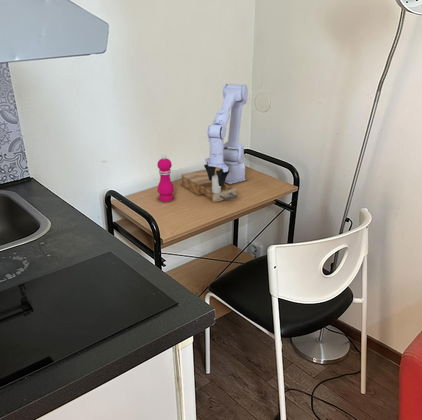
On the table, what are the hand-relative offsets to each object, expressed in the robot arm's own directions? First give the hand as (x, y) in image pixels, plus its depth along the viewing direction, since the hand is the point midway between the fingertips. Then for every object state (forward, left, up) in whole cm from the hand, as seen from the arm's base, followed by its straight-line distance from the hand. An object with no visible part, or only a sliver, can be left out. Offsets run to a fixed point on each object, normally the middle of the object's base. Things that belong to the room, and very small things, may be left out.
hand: (216, 182), depth 192 cm
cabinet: (0, -12, -6) cm, 14 cm away
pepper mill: (+20, -9, -6) cm, 23 cm away
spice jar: (0, 0, -4) cm, 4 cm away
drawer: (0, +2, -5) cm, 6 cm away
